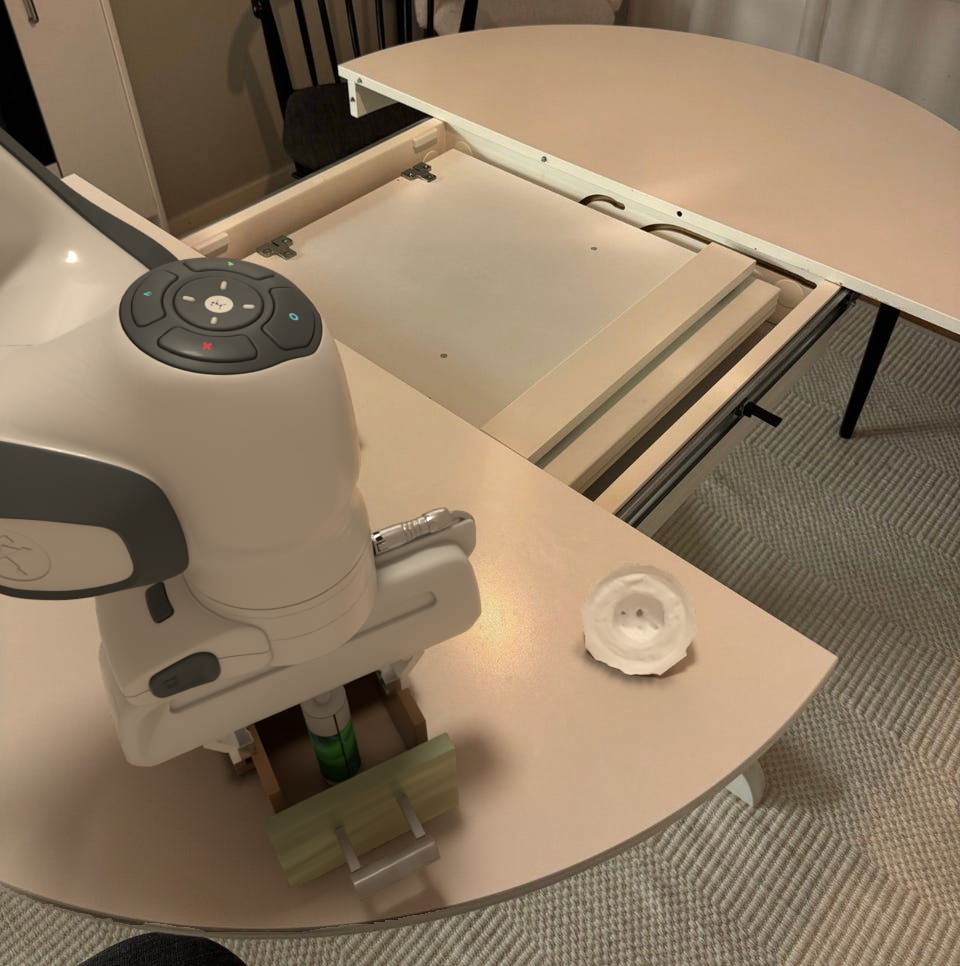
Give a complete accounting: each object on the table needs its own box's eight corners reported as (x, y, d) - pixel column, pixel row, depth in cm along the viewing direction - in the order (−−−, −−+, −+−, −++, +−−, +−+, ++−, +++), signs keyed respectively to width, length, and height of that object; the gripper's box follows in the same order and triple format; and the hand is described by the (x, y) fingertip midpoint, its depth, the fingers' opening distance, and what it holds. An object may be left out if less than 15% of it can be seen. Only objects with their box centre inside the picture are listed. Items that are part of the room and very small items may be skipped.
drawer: (490, 863, 59) (490, 809, 53) (317, 956, 56) (296, 909, 50) (375, 647, 70) (364, 583, 64) (224, 714, 66) (198, 652, 61)
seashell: (646, 660, 74) (727, 612, 70) (626, 697, 70) (710, 649, 65) (580, 580, 74) (656, 528, 70) (555, 613, 70) (635, 559, 65)
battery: (331, 745, 63) (309, 669, 56) (368, 755, 63) (351, 680, 56) (315, 782, 62) (291, 709, 55) (353, 793, 61) (334, 720, 54)
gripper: (448, 459, 52) (453, 610, 62) (58, 601, 45) (136, 743, 55) (503, 539, 48) (499, 686, 58) (86, 707, 41) (164, 839, 52)
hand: (319, 715), depth 57 cm, fingers open, 8 cm apart
